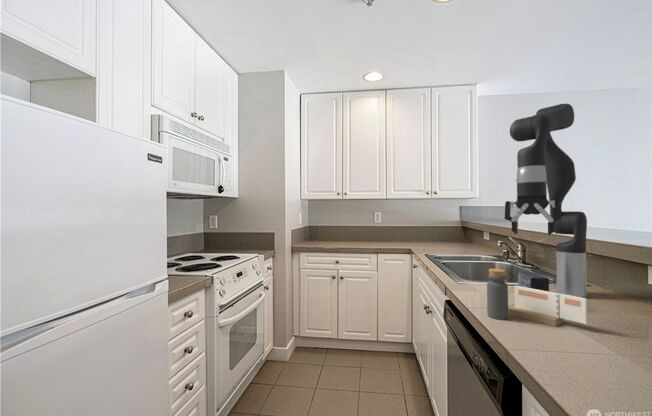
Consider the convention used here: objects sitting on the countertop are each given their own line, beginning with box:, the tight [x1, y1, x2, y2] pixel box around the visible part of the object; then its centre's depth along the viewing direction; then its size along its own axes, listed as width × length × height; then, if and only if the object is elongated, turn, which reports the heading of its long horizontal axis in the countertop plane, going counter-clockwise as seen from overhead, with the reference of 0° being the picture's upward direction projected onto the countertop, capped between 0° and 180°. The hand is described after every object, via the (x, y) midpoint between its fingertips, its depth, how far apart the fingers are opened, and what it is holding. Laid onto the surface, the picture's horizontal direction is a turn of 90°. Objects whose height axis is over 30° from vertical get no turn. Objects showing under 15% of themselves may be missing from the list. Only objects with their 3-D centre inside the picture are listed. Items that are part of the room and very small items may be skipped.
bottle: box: [486, 268, 509, 321], centre depth 96 cm, size 6×6×15 cm
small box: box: [517, 271, 550, 292], centre depth 110 cm, size 11×6×10 cm, turn 168°
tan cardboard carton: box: [508, 285, 565, 327], centre depth 95 cm, size 14×7×9 cm, turn 35°
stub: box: [560, 294, 588, 325], centre depth 87 cm, size 6×1×7 cm, turn 35°
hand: (532, 234), depth 92 cm, fingers open, 8 cm apart
